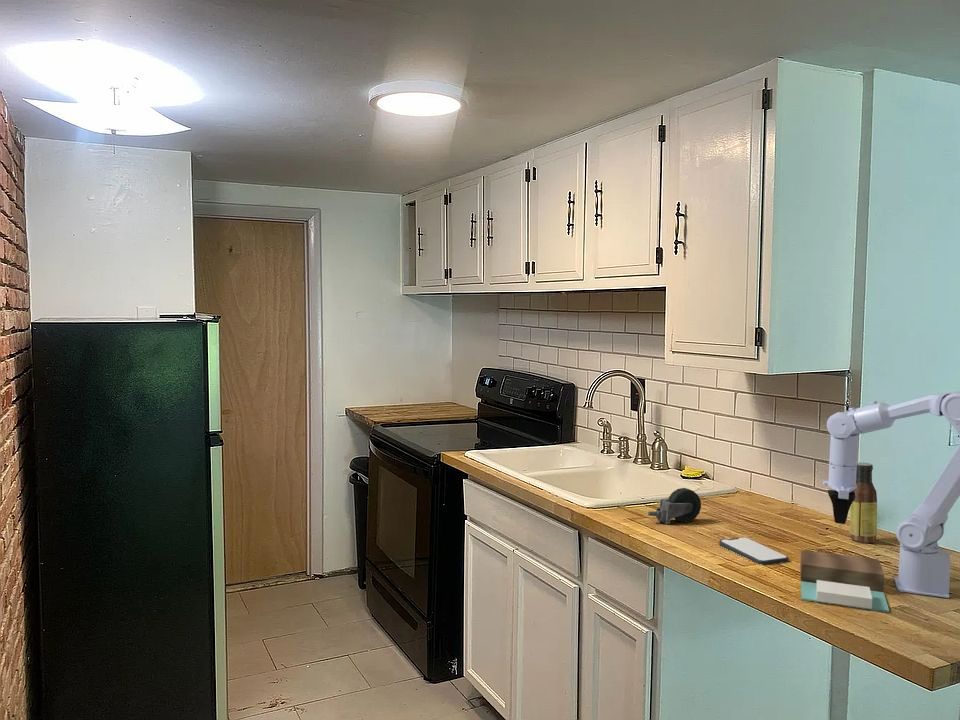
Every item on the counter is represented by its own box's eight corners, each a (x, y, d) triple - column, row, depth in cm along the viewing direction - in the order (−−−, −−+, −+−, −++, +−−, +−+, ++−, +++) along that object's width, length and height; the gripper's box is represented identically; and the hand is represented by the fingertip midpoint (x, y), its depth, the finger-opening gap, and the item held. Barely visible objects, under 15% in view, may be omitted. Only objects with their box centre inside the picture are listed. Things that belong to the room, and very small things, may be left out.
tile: (872, 599, 155) (871, 608, 155) (869, 587, 161) (868, 596, 161) (817, 591, 159) (816, 600, 159) (816, 579, 165) (816, 589, 165)
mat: (883, 594, 164) (883, 592, 164) (889, 612, 154) (889, 610, 154) (800, 582, 170) (800, 581, 170) (801, 600, 160) (801, 598, 160)
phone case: (791, 564, 184) (745, 542, 199) (791, 557, 184) (745, 536, 199) (760, 568, 181) (716, 546, 196) (761, 561, 181) (716, 539, 195)
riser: (877, 577, 174) (878, 559, 174) (883, 593, 164) (884, 574, 164) (800, 566, 180) (801, 550, 180) (800, 582, 170) (801, 564, 170)
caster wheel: (691, 520, 220) (642, 518, 216) (695, 487, 219) (647, 484, 216) (701, 526, 214) (652, 524, 211) (706, 492, 214) (656, 489, 210)
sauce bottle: (879, 540, 201) (883, 464, 199) (871, 545, 196) (876, 467, 195) (852, 534, 206) (856, 460, 204) (844, 540, 201) (848, 463, 199)
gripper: (822, 456, 187) (819, 512, 188) (825, 468, 173) (822, 529, 174) (855, 459, 184) (852, 516, 185) (860, 471, 171) (857, 533, 172)
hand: (839, 522), depth 180 cm, fingers closed
